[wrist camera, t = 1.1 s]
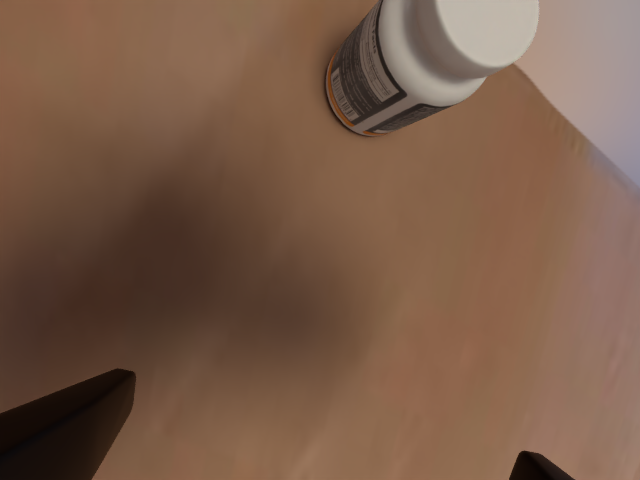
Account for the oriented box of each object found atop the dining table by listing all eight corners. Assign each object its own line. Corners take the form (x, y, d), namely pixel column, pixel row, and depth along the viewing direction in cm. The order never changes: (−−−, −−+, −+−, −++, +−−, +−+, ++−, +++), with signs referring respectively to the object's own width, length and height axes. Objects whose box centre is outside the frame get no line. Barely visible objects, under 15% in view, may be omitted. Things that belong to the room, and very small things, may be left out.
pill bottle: (415, 62, 23) (565, -43, 14) (396, 150, 23) (535, 104, 14) (333, 26, 22) (444, -122, 12) (312, 122, 21) (408, 46, 12)
